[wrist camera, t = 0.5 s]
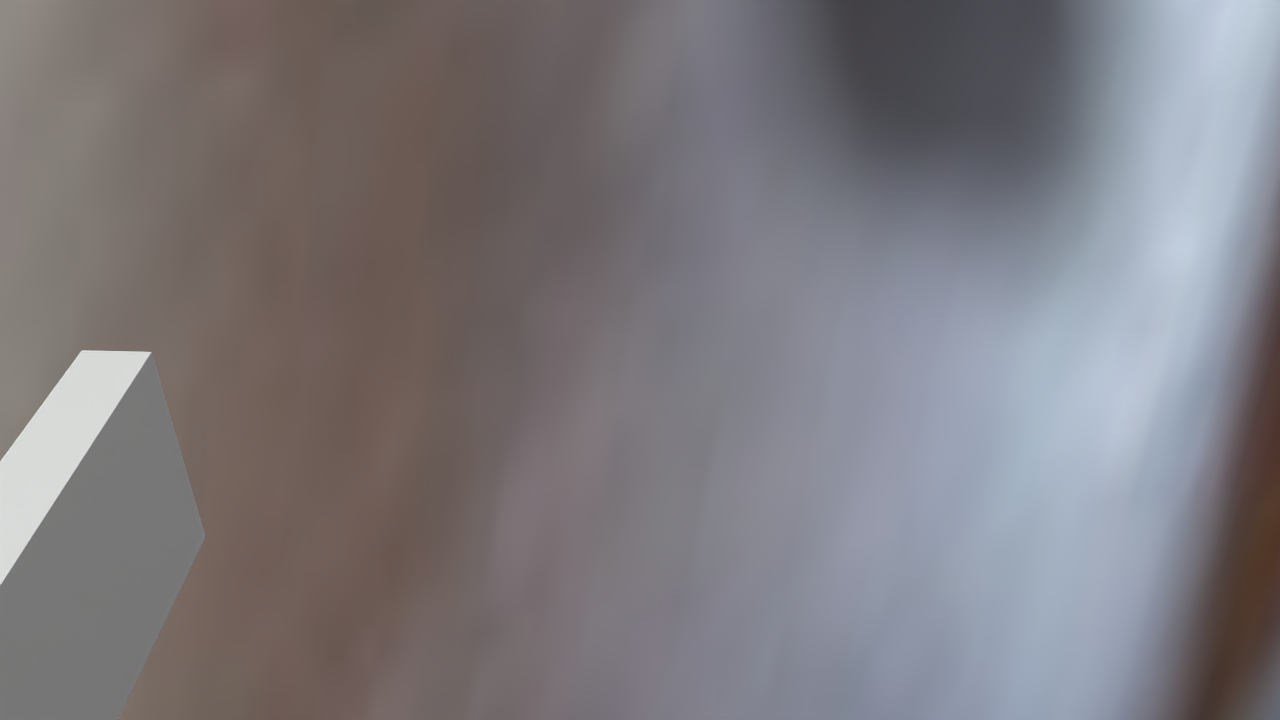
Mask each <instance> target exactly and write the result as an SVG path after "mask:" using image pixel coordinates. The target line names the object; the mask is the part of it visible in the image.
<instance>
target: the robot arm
mask: <svg viewBox="0 0 1280 720" xmlns="http://www.w3.org/2000/svg"><path fill="white" fill-rule="evenodd" d="M204 539H205V534H204V530H203V527H202V523H201V520H200V517H199V513H198V510H197V506H196V503H195V499H194V496H193V493H192V489H191V486H190V482H189V479H188V475H187V472H186V468H185V465H184V462H183V458H182V455H181V451H180V448H179V444H178V441H177V438H176V434H175V431H174V427H173V424H172V420H171V417H170V414H169V410H168V407H167V403H166V400H165V396H164V393H163V390H162V386H161V383H160V379H159V376H158V372H157V369H156V365H155V362H154V359H153V355H152V352H129V351H84V350H82V351H81V352H80V354H79V355H78V356H77V358H76V359H75V360H74V362H73V363H72V365H71V366H70V367H69V369H68V370H67V371H66V373H65V374H64V375H63V377H62V378H61V380H60V381H59V382H58V384H57V385H56V386H55V388H54V389H53V390H52V392H51V393H50V395H49V396H48V397H47V399H46V400H45V401H44V403H43V404H42V405H41V407H40V408H39V410H38V411H37V412H36V414H35V415H34V416H33V418H32V419H31V420H30V422H29V423H28V424H27V426H26V427H25V429H24V430H23V431H22V433H21V434H20V435H19V437H18V438H17V439H16V441H15V442H14V444H13V445H12V446H11V448H10V449H9V450H8V452H7V453H6V454H5V456H4V457H3V459H2V460H1V461H0V720H118V719H119V717H120V715H121V713H122V711H123V709H124V707H125V705H126V702H127V700H128V698H129V696H130V694H131V692H132V690H133V688H134V686H135V684H136V681H137V679H138V677H139V675H140V673H141V671H142V669H143V667H144V665H145V663H146V660H147V658H148V656H149V654H150V652H151V650H152V648H153V646H154V644H155V642H156V640H157V637H158V635H159V633H160V631H161V629H162V627H163V625H164V623H165V621H166V619H167V616H168V614H169V612H170V610H171V608H172V606H173V604H174V602H175V600H176V598H177V595H178V593H179V591H180V589H181V587H182V585H183V583H184V581H185V579H186V577H187V575H188V572H189V570H190V568H191V566H192V564H193V562H194V560H195V558H196V556H197V554H198V551H199V549H200V547H201V545H202V543H203V541H204Z"/></svg>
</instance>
